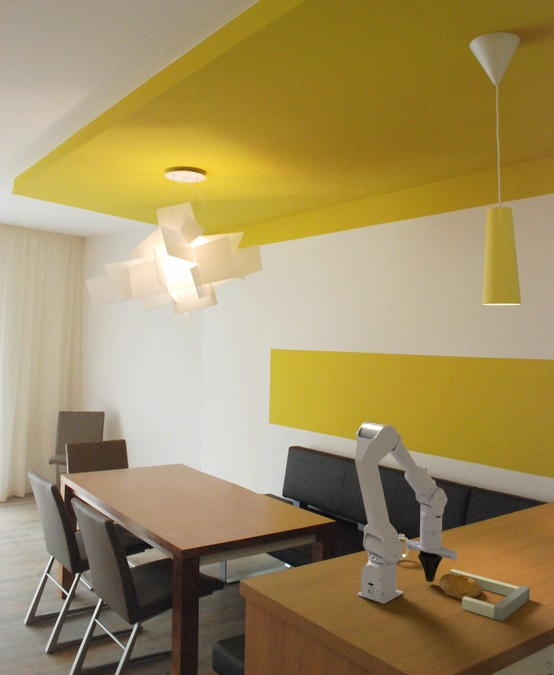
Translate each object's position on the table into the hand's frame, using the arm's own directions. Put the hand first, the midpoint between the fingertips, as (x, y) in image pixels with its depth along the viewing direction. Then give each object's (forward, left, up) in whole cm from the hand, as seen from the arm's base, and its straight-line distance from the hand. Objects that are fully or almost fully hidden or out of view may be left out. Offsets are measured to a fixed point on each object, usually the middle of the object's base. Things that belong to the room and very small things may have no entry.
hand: (430, 580), depth 166 cm
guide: (0, -13, -1) cm, 13 cm away
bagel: (+1, -8, -1) cm, 9 cm away
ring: (+11, +16, -1) cm, 19 cm away
